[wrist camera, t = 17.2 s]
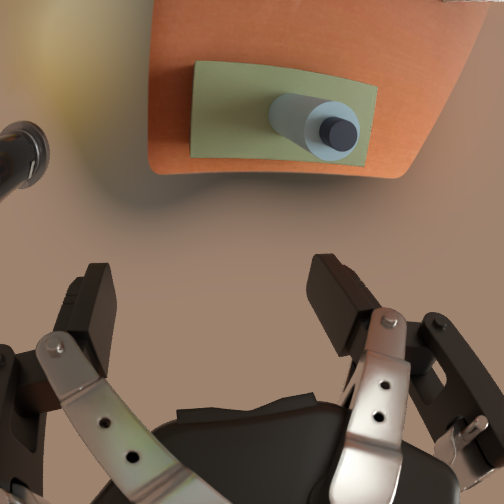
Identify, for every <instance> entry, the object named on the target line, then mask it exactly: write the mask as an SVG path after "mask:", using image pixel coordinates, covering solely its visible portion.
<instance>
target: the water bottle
mask: <svg viewBox="0 0 504 504" xmlns="http://www.w3.org/2000/svg"><path fill="white" fill-rule="evenodd" d="M268 117H269V122H270V124H271V126H272V128H273V129H274V130H275V131H276V132H277V133H279V134H281V135H282V136H284V137H286V138H287V139H289V140H290V141H292V142H294V143H295V144H297V145H299V146H300V147H302V148H303V149H305V150H307V151H308V152H310V153H311V154H313V155H314V156H316V157H317V158H319V159H322V160H325V161H336V160H340V159H342V158H344V157H346V156H347V155H349V154H350V153H351V152H352V151H353V149H354V148H355V146H356V144H357V142H358V139H359V135H360V126H359V121H358V118H357V116H356V114H355V113H354V112H353V110H352V109H351V108H350V107H348V106H347V105H345V104H343V103H341V102H337V101H332V100H327V99H322V98H317V97H311V96H305V95H299V94H293V93H288V94H283V95H281V96H279V97H278V98H276V99H275V100H274V101H273V102H272V104H271V106H270V109H269V114H268Z"/></svg>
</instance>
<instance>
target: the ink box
mask: <svg viewBox="0 0 504 504" xmlns="http://www.w3.org/2000/svg"><path fill="white" fill-rule="evenodd" d="M442 1H443V2H470V1H499V2H504V0H442Z"/></svg>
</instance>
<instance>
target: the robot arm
mask: <svg viewBox="0 0 504 504" xmlns="http://www.w3.org/2000/svg"><path fill="white" fill-rule="evenodd" d="M40 158H41V154H40V147H39V144H38V142H37V140H36V139H35V137H34V136H33V135H32V134H31V133H30V132H28V131H26V130H23V129H17V130H13V131H11V132H9V133H7V134H5V135H3V136H1V137H0V203H1V202H2V201H3V200H5V199H6V198H7V197H8V196H9V195H10V194H11V193H13V192H14V191H15V190H16V189H17V188H19V187H20V186H21V185H22V184H24V183H25V182H27V181H28V180H29V179H31V178H32V177H33V176H34V175H35V173H36V172H37V170H38V167H39V164H40ZM306 292H307V298H308V300H309V302H310V304H311V306H312V308H313V309H314V311H315V313H316V315H317V317H318V318H319V320H320V322H321V324H322V326H323V328H324V330H325V332H326V333H327V335H328V337H329V339H330V341H331V343H332V345H333V347H334V348H335V350H336V352H337V354H338V356H339V357H343V356H348V355H350V356H351V357H352V360H351V362H350V364H349V368H348V371H347V374H346V378H345V381H344V385H343V388H342V391H341V394H340V397H339V400H338V402H337V404H333V403H329V402H322V401H317V400H316V398H315V396H314V394H313V392H311V393H307V394H302V395H296V396H291V397H285V398H281V399H279V400H276V401H274V402H271V403H269V404H266V405H264V406H261V407H259V408H257V409H254V410H250V411H242V410H230V409H222V408H213V407H210V408H196V409H180V410H177V411H176V412H177V419H176V420H172V421H169V422H167V423H164V424H162V425H160V426H159V427H157V428H155V429H154V430H153V431H151V432H150V431H149V430H148V429H147V428H146V427H145V426H144V425H143V424H142V422H141V421H140V420H139V419H138V418H137V417H136V416H135V414H134V413H133V412H132V411H131V410H130V409H129V407H128V406H127V405H126V404H125V403H124V402H123V400H122V399H121V398H120V397H119V395H118V394H117V393H116V392H115V390H113V388H112V387H111V385H110V384H109V383H108V382H107V380H106V379H105V378H107V373H108V364H109V356H110V349H111V342H112V335H113V329H114V323H115V316H116V310H117V301H116V294H115V289H114V285H113V280H112V275H111V270H110V266H109V263H91V264H89V265H88V268H87V270H86V273H85V276H84V277H77V278H76V279H75V280H74V281H73V282H72V283H71V284H70V286H69V288H68V290H67V293H66V297H65V298H64V301H63V305H62V306H61V309H60V312H59V314H58V317H57V320H56V323H55V326H54V329H53V332H51V333H49V334H47V335H45V336H44V337H43V338H41V339H40V340H39V342H38V344H37V346H36V349H35V350H32V351H28V352H24V353H19V354H15V353H14V351H13V350H12V348H11V347H10V346H8V345H5V344H0V504H50V503H49V502H48V501H47V500H46V499H44V498H43V454H44V453H43V452H44V438H45V437H44V436H45V426H46V416H47V412H48V411H53V410H58V409H61V408H63V410H64V412H65V414H66V415H67V417H68V418H69V420H70V422H71V423H72V425H73V427H74V428H75V430H76V431H77V433H78V434H79V436H80V437H81V438H82V440H83V442H84V443H85V444H86V446H87V447H88V449H89V450H90V452H91V453H92V454H93V456H94V457H95V459H96V460H97V461H98V463H99V464H100V465H101V466H102V468H103V469H104V470H105V472H106V473H107V474H108V475H109V477H110V478H111V479H110V480H109V482H108V483H107V484H106V485H105V486H104V488H103V489H102V490H101V491H100V492H99V494H98V495H97V496H96V497H95V498H94V500H93V501H92V502H91V503H90V504H460V493H461V492H462V491H464V490H467V489H470V488H472V487H473V486H475V485H477V484H478V483H480V482H482V481H483V480H484V479H486V478H488V477H489V476H491V475H492V474H494V473H495V472H497V471H498V470H500V469H501V468H502V467H504V395H503V394H502V392H501V390H500V389H499V387H498V386H497V384H496V383H495V381H494V380H493V379H492V377H491V375H490V374H489V373H488V371H487V370H486V368H485V367H484V365H483V364H482V363H481V361H480V360H479V358H478V357H477V356H476V354H475V353H474V351H473V350H472V349H471V347H470V346H469V345H468V343H467V342H466V341H465V340H464V338H463V337H462V335H461V334H460V333H459V331H458V330H457V329H456V328H455V326H454V325H453V324H452V322H451V321H450V320H449V319H448V318H447V317H445V316H444V315H442V314H439V313H436V312H430V313H427V314H426V315H425V316H424V318H423V320H422V322H421V323H420V322H408V321H406V320H405V318H404V317H403V316H402V315H401V314H400V313H399V312H397V311H395V310H393V309H390V308H384V307H382V306H381V305H380V304H379V302H378V301H377V300H376V298H375V297H374V296H373V295H372V293H371V292H370V291H369V290H368V288H367V287H365V284H364V283H363V282H362V281H360V278H359V277H358V275H357V274H356V273H355V272H354V271H353V270H352V269H350V268H348V267H347V266H345V265H342V264H341V263H340V261H339V260H338V259H337V258H336V256H335V255H334V254H315V255H314V256H313V259H312V264H311V268H310V272H309V277H308V281H307V286H306ZM436 360H437V361H438V363H439V364H440V366H441V367H442V369H443V371H444V372H445V374H446V377H447V382H446V385H445V387H444V386H443V384H442V383H441V381H440V380H439V378H438V376H437V375H436V373H435V371H434V370H433V368H432V365H433V364H434V362H435V361H436ZM408 393H409V395H410V396H411V398H412V400H413V402H414V404H415V406H416V407H417V410H418V411H419V414H420V415H421V417H422V419H423V421H424V423H425V425H426V427H427V429H428V431H429V433H430V435H431V437H432V439H433V441H434V443H435V447H434V453H435V454H434V455H433V456H432V455H430V454H428V453H426V452H424V451H422V450H420V449H418V448H417V447H415V446H413V445H411V444H409V443H407V442H405V441H403V440H402V435H403V429H404V422H405V415H406V408H407V400H408Z"/></svg>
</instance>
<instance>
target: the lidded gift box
mask: <svg viewBox="0 0 504 504" xmlns="http://www.w3.org/2000/svg"><path fill="white" fill-rule="evenodd" d="M377 89H378V87H377V86H373V85H370V84H366V83H362V82H358V81H354V80H349V79H345V78H341V77H336V76H331V75H326V74H321V73H316V72H310V71H304V70H298V69H292V68H285V67H277V66H269V65H260V64H249V63H237V62H221V61H195V63H194V65H193V78H192V94H191V112H190V136H189V148H190V158H248V159H273V160H291V161H306V162H318V163H330V164H341V165H350V166H359V167H364V166H365V160H366V155H367V150H368V145H369V139H370V133H371V128H372V122H373V116H374V109H375V103H376V96H377ZM288 93H293V94H299V95H305V96H311V97H317V98H322V99H327V100H332V101H337V102H341V103H343V104H345V105H347V106H348V107H350V108H351V109H352V110H353V112H354V113H355V114H356V116H357V118H358V121H359V126H360V135H359V139H358V142H357V144H356V146H355V148H354V149H353V151H352V152H351V153H350V154H349V155H347V156H346V157H344V158H342V159H340V160H336V161H325V160H322V159H319V158H317V157H316V156H314V155H313V154H311V153H310V152H308V151H307V150H305V149H303V148H302V147H300V146H299V145H297V144H295V143H294V142H292V141H290V140H289V139H287V138H286V137H284V136H282V135H281V134H279V133H277V132H276V131H275V130H274V129H273V128H272V126H271V124H270V122H269V117H268V114H269V109H270V106H271V104H272V102H273V101H274V100H275V99H276V98H278V97H279V96H281V95H283V94H288Z"/></svg>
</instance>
